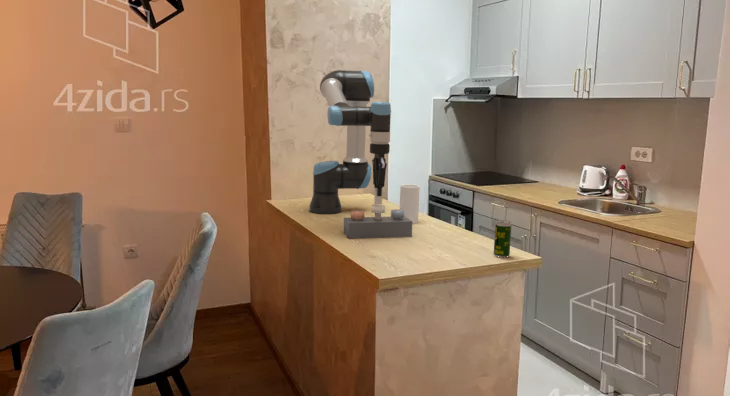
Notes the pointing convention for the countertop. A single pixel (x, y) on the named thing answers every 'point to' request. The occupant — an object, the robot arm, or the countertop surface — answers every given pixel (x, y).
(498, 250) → the beer can
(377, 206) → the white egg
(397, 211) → the pale blue knob
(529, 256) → the countertop surface
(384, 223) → the key panel
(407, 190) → the cup
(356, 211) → the terracotta key
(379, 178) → the robot arm
